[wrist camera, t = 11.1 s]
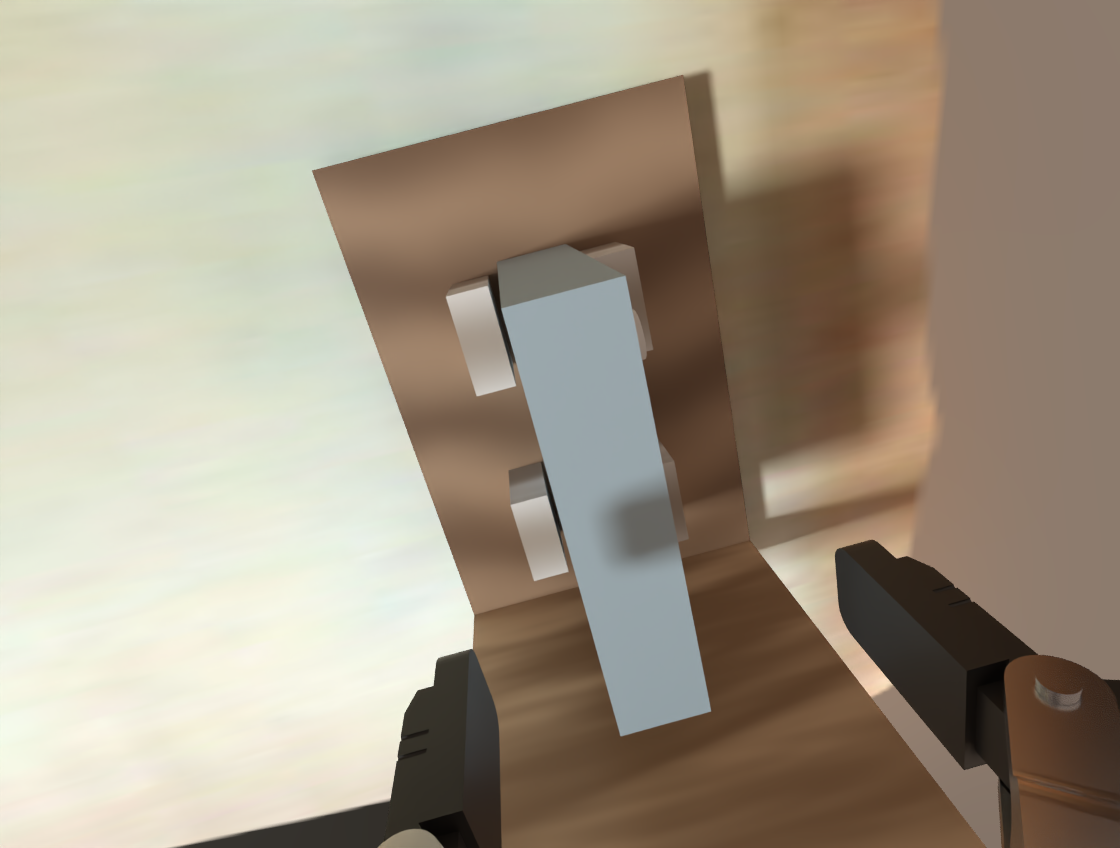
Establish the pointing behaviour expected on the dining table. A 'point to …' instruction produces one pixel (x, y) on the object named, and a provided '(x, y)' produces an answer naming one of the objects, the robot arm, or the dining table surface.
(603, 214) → the hinge base
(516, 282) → the door
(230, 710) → the dining table surface
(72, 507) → the dining table surface
